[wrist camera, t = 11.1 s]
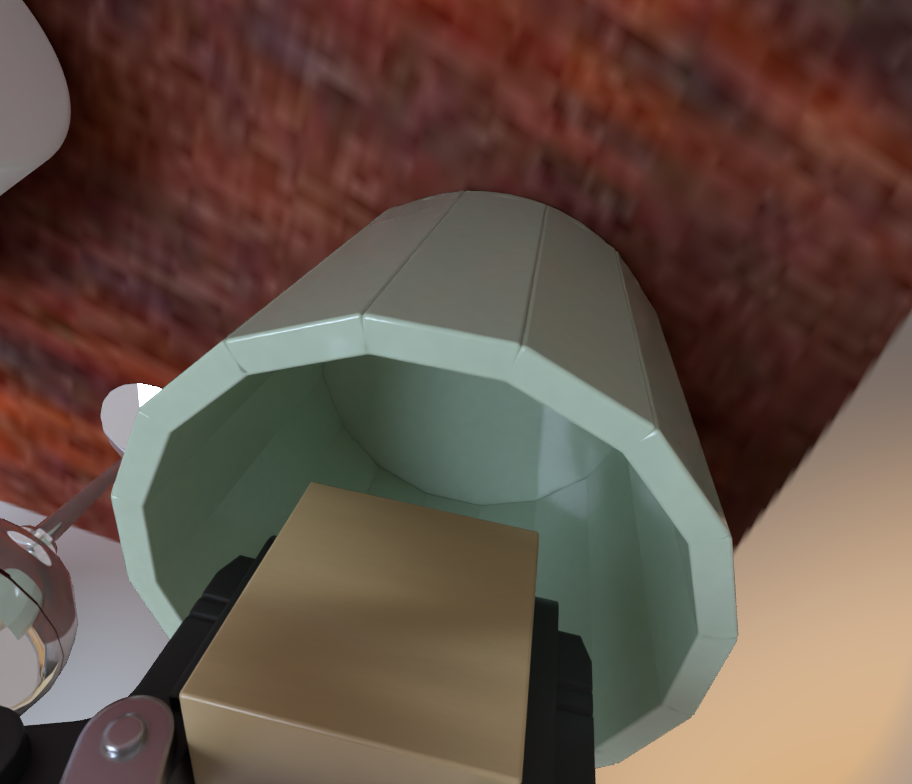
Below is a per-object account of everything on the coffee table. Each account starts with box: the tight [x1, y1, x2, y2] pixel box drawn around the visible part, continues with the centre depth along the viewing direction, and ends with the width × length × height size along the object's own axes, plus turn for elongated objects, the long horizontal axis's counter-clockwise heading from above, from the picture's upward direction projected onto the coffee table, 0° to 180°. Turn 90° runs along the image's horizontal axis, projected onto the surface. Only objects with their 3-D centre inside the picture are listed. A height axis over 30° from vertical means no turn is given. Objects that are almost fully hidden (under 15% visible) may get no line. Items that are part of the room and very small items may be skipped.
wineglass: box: [0, 383, 161, 717], centre depth 20 cm, size 7×7×12 cm
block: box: [179, 482, 539, 784], centre depth 10 cm, size 4×4×4 cm
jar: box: [111, 191, 738, 769], centre depth 16 cm, size 12×12×10 cm
